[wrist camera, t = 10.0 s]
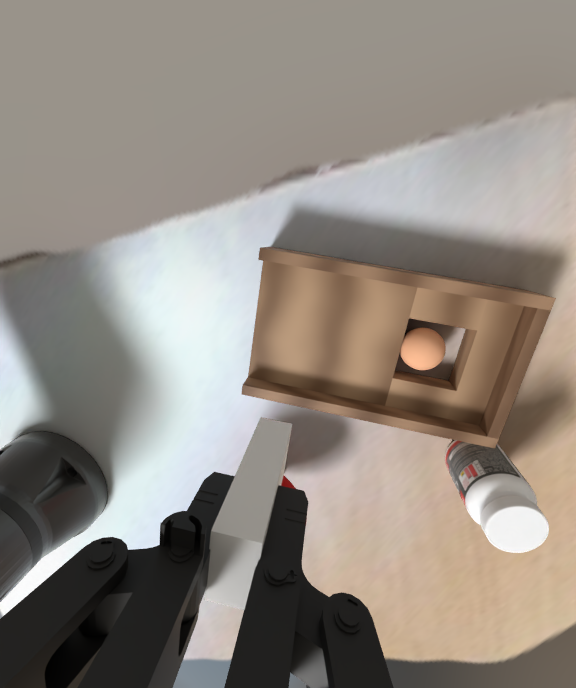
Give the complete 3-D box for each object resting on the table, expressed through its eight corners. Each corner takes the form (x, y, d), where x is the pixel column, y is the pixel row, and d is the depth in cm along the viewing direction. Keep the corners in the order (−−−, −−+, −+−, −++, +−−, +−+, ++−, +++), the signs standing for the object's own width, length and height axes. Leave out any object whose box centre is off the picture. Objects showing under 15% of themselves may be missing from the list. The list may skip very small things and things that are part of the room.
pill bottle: (432, 460, 37) (462, 533, 28) (466, 422, 36) (511, 487, 26) (476, 486, 38) (521, 569, 28) (513, 450, 36) (574, 525, 26)
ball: (400, 356, 35) (389, 366, 32) (411, 319, 34) (401, 325, 31) (440, 370, 34) (433, 381, 30) (454, 331, 32) (448, 339, 29)
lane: (252, 376, 38) (241, 394, 34) (270, 246, 33) (260, 247, 29) (476, 423, 36) (494, 448, 31) (526, 290, 31) (555, 298, 27)
